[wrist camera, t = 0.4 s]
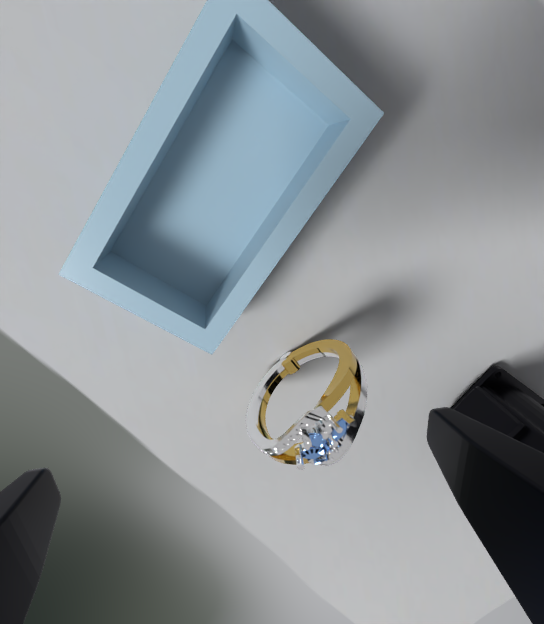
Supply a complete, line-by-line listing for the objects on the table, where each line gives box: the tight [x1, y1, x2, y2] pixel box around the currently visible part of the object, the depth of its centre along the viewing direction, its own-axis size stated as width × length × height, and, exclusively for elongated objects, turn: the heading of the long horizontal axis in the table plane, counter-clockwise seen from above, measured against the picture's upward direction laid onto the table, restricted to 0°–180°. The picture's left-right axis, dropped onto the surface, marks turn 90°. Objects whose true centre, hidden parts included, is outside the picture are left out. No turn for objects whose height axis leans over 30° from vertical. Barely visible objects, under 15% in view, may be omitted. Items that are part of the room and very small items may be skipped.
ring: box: [246, 339, 367, 470], centre depth 19 cm, size 7×3×8 cm, turn 125°
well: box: [58, 0, 384, 354], centre depth 16 cm, size 8×13×4 cm, turn 144°
